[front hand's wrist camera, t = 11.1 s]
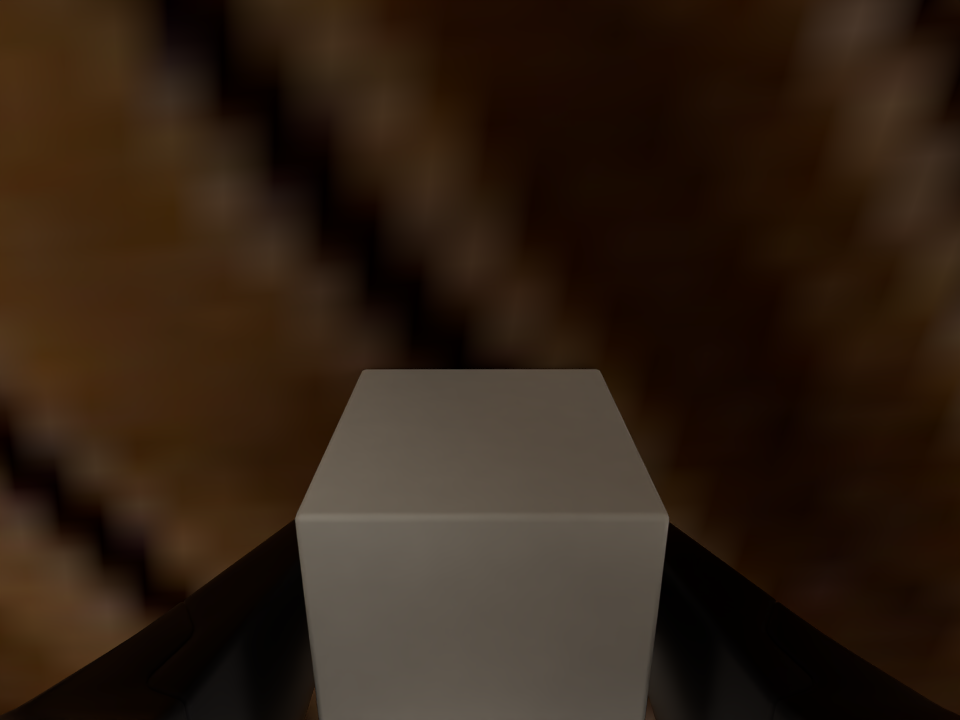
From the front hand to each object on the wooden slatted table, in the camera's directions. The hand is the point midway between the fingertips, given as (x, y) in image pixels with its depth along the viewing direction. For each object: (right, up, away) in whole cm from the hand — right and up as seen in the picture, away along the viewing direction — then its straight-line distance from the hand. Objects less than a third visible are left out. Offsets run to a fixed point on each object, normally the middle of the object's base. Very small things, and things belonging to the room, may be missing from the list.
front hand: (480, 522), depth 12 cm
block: (0, 0, +1) cm, 1 cm away
